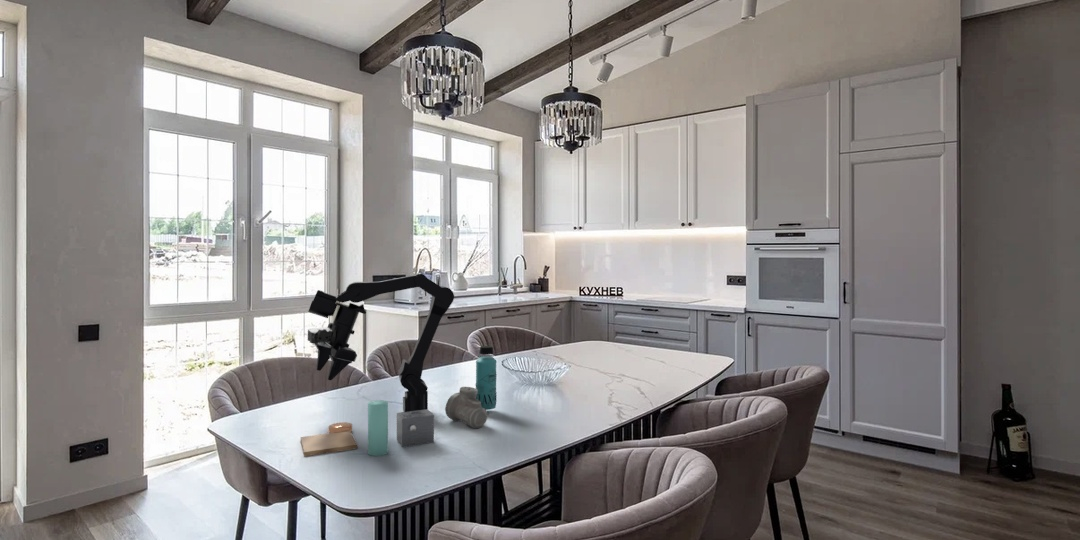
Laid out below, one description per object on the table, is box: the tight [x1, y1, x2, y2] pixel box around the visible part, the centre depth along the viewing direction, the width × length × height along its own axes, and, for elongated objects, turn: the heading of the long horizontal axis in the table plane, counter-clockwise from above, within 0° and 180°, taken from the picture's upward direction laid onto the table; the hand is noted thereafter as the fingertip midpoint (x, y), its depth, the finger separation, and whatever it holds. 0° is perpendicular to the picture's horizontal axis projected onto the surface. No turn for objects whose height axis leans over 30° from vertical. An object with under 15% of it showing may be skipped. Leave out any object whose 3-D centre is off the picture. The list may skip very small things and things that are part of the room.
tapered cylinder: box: [367, 399, 389, 457], centre depth 133 cm, size 5×5×12 cm
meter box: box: [396, 409, 435, 448], centre depth 141 cm, size 8×7×7 cm
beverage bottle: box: [474, 345, 498, 411], centre depth 168 cm, size 6×7×20 cm
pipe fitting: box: [444, 386, 488, 429], centre depth 156 cm, size 12×8×10 cm
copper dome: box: [327, 422, 353, 434], centre depth 149 cm, size 6×6×2 cm
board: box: [300, 431, 358, 457], centre depth 139 cm, size 12×12×1 cm
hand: (323, 375), depth 159 cm, fingers open, 9 cm apart
